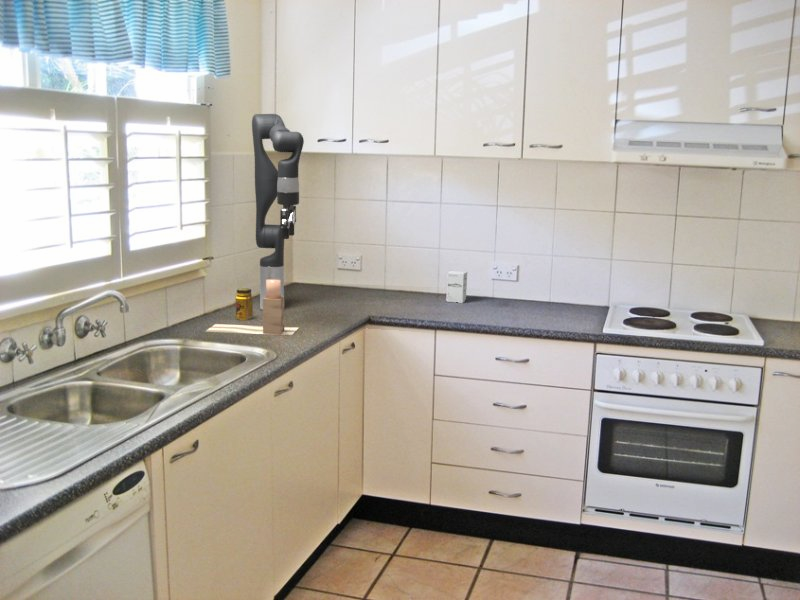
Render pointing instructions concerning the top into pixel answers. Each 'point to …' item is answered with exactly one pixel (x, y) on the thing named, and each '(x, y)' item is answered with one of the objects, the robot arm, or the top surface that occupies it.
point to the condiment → (244, 305)
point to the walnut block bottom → (273, 325)
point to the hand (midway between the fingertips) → (288, 237)
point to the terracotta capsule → (273, 288)
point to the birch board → (246, 329)
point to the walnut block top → (273, 307)
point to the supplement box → (456, 286)
